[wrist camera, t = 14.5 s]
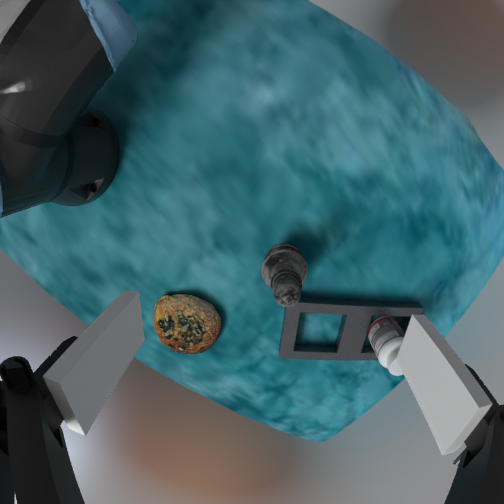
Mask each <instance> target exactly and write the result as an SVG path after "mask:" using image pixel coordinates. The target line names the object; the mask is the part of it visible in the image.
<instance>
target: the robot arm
mask: <svg viewBox="0 0 504 504" xmlns="http://www.w3.org/2000/svg"><path fill="white" fill-rule="evenodd" d="M137 38H138V32H137V28H136V26H135V24H134V23H133V21H132V20H131V18H130V17H129V16H128V14H127V13H126V12H125V11H124V10H123V8H122V7H121V6H120V5H119V4H118V3H117V2H116V1H115V0H0V218H2V217H4V216H7V215H10V214H13V213H16V212H19V211H22V210H25V209H28V208H31V207H34V206H37V205H40V204H43V203H46V202H52V203H57V204H61V205H65V206H80V205H83V204H87V203H90V202H92V201H94V200H96V199H97V198H98V197H100V196H101V195H102V194H103V193H104V192H105V191H106V189H107V188H108V187H109V185H110V183H111V181H112V179H113V177H114V175H115V172H116V169H117V164H118V158H119V145H118V138H117V135H116V131H115V129H114V127H113V125H112V123H111V122H110V120H109V119H108V118H107V117H106V116H105V115H104V114H102V113H100V112H99V111H96V110H93V109H87V108H86V107H87V105H88V104H89V102H90V101H91V100H92V98H93V97H94V96H95V94H96V93H97V92H98V90H99V89H100V88H101V87H102V85H103V84H104V83H105V82H106V80H107V79H108V78H109V77H110V75H111V74H112V73H115V72H116V70H117V66H118V65H119V64H120V62H121V61H122V60H123V59H124V57H125V56H126V55H127V54H128V53H129V51H130V50H131V49H132V48H133V47H134V45H135V43H136V41H137ZM144 340H145V338H144V331H143V323H142V315H141V307H140V297H139V292H134V291H127V290H125V291H124V292H123V293H122V294H121V295H120V296H119V297H118V298H116V299H115V300H114V301H113V302H112V303H111V304H110V305H109V306H108V307H107V308H106V309H105V310H104V311H103V312H102V313H101V314H100V315H99V317H98V318H97V319H96V320H95V321H94V322H93V323H92V324H91V325H90V326H89V327H88V328H87V329H86V330H85V331H84V332H83V333H82V334H81V335H80V336H79V337H75V336H73V337H71V338H69V339H67V340H65V341H64V342H63V343H61V345H60V346H59V347H58V348H57V350H55V351H54V352H53V353H52V354H51V356H49V357H48V358H47V359H46V360H45V361H44V362H43V363H42V364H41V365H40V367H39V368H38V369H37V370H36V371H35V372H34V373H33V371H32V369H31V366H30V364H29V362H28V360H26V359H25V358H23V357H20V356H14V357H10V358H8V359H6V360H4V361H3V362H2V363H1V364H0V376H1V378H2V380H3V381H0V504H14V495H15V494H16V500H17V504H85V503H84V500H83V498H82V495H81V492H80V489H79V487H78V484H77V481H76V478H75V475H74V471H73V468H72V465H71V462H70V458H69V455H68V451H67V447H66V443H65V439H64V435H63V431H62V429H61V426H60V425H61V423H62V422H63V420H65V422H66V424H67V426H68V428H69V429H71V430H73V431H75V432H77V433H80V434H82V435H85V436H86V434H87V433H88V431H89V429H90V427H91V426H92V424H93V422H94V421H95V419H96V417H97V416H98V414H99V412H100V411H101V409H102V407H103V406H104V404H105V402H106V400H107V399H108V397H109V396H110V394H111V393H112V391H113V389H114V387H115V386H116V384H117V383H118V381H119V380H120V378H121V376H122V375H123V373H124V372H125V370H126V368H127V367H128V365H129V364H130V362H131V360H132V359H133V357H134V356H135V354H136V353H137V351H138V350H139V348H140V347H141V345H142V344H143V342H144ZM396 360H397V362H398V364H399V366H400V368H401V370H402V372H403V374H404V376H405V378H406V379H407V381H408V383H409V385H410V387H411V389H412V391H413V393H414V395H415V397H416V399H417V401H418V403H419V406H420V408H421V410H422V412H423V414H424V416H425V418H426V420H427V422H428V424H429V427H430V429H431V431H432V433H433V436H434V438H435V440H436V442H437V445H438V447H439V449H440V452H441V454H442V456H443V455H446V454H450V453H452V452H456V451H457V450H458V449H459V448H460V446H461V445H462V444H463V443H464V442H465V444H466V446H467V447H466V448H465V450H464V451H463V452H462V453H461V454H460V455H459V456H458V457H457V459H456V460H455V461H454V463H453V464H456V463H457V461H459V460H460V463H459V464H458V469H457V472H456V475H455V478H454V480H453V483H452V486H451V489H450V491H449V494H448V496H447V498H446V501H445V503H444V504H504V405H500V406H499V404H498V403H497V402H496V400H495V399H494V397H493V396H492V394H491V393H490V391H489V390H488V389H487V387H486V386H485V385H484V383H483V382H482V380H481V379H479V376H478V375H477V374H476V372H475V371H474V370H473V369H472V368H470V367H469V366H468V365H466V364H464V363H463V362H462V361H461V359H460V358H459V357H458V355H457V354H456V353H455V351H454V350H453V349H452V348H451V346H450V345H449V344H448V343H447V341H446V340H445V339H444V338H443V336H442V335H441V334H440V333H439V331H438V330H437V329H436V328H435V327H434V325H433V324H432V323H431V322H430V321H429V319H428V318H427V317H426V316H425V315H412V317H411V320H410V323H409V326H408V328H407V331H406V334H405V337H404V339H403V342H402V345H401V347H400V350H399V353H398V355H397V358H396Z"/></svg>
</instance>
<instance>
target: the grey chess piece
mask: <svg viewBox="0 0 504 504" xmlns="http://www.w3.org/2000/svg"><path fill="white" fill-rule="evenodd" d="M307 275H308V267H307V263H306V261H305V259H304V258H303V257H302V255H301V253H300V251H299V250H298V249H297V248H296V247H294V246H292V245H289V244H279V245H276V246H274V247H272V248H271V249H270V250H269V251H268V253H267V254H266V257H265V261H264V263H263V266H262V276H263V280H264V281H265V283H266V284H267V285H268V286H269V287H270V288H271V289H272V291H273V292H274V297H275V300H276V302H277V303H278V304H279V305H281V306H284V307H290V306H293V305H295V304H297V303H298V301H299V300H300V297H301V291H300V290H301V287H302V285H303V283H304V282H305V280H306V278H307Z"/></svg>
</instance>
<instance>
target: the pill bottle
mask: <svg viewBox="0 0 504 504" xmlns="http://www.w3.org/2000/svg"><path fill="white" fill-rule="evenodd" d="M367 336H368V338H369V341H370V343H371V345H372V347H373V349H374V351H375V353H376V355H377V357H378V360H379V362H380V363H381V365H382V366H384V367H386V368H388V369H389V371H390V373H391V374H392V375H395V376H399V375H403V372H402V370H401V368H400V366H399V364H398V362H397V360H396V358H397V355H398V353H399V350H400V347H401V345H402V342H403V339H404V337H405V334H404V332H403V331H402V329H401V328H400V326H399V325H398V323H397V322H396V320H395V319H394V318H392V317H390V316H381V317H379V318H377V319H375V320H374V321H373V322H372V323H371V324H370V326H369V328H368V331H367Z"/></svg>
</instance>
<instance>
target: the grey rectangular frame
mask: <svg viewBox="0 0 504 504" xmlns="http://www.w3.org/2000/svg"><path fill="white" fill-rule="evenodd" d="M423 309H424V308H423V307H422V306H421V305H420V304H419V303H417V302H388V301H367V300H348V299H331V298H316V297H302V296H301V297H300V300H299V301H298V303H297V304H295V305H293V306H290V307H285V312H284V319H283V326H282V333H281V339H280V346H279V358H290V359H310V360H378V357H377V355H376V353H375V351H374V349H373V347H372V346H363V344H364V341H365V338H366V334H367V331H368V328H369V324H370V321H371V317H372V316H404V319H403V322H402V325H401V329H402V331H403V332H404V334H406V331H407V328H408V326H409V323H410V320H411V317H412V315H422V312H423ZM300 312H306V313H323V314H342V315H343V316H342V320H341V324H340V328H339V332H338V336H337V340H336V343H335V346H332V345H307V344H295V339H296V333H297V328H298V322H299V316H300Z"/></svg>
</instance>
